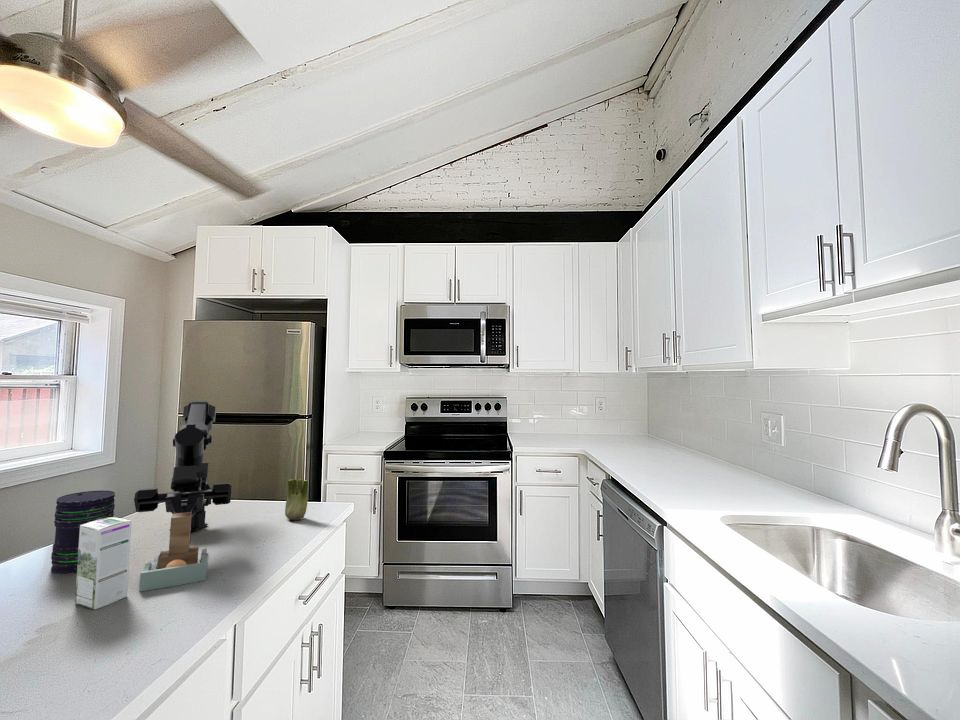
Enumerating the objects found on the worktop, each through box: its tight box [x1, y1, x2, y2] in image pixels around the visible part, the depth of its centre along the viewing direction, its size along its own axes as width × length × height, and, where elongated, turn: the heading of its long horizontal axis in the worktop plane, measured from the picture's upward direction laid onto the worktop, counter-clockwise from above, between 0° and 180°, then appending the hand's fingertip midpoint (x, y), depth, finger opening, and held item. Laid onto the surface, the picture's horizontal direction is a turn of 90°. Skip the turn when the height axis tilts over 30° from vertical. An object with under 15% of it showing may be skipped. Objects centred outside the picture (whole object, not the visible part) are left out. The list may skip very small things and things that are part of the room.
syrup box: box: [74, 516, 132, 611], centre depth 81 cm, size 6×6×14 cm
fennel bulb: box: [284, 478, 309, 521], centre depth 130 cm, size 6×5×12 cm
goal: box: [138, 554, 209, 593], centre depth 90 cm, size 6×11×4 cm, turn 120°
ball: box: [165, 559, 187, 568], centre depth 90 cm, size 4×4×4 cm
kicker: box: [157, 512, 200, 569], centre depth 95 cm, size 4×7×11 cm, turn 120°
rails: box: [151, 548, 208, 570], centre depth 98 cm, size 8×10×1 cm
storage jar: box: [50, 490, 116, 575], centre depth 96 cm, size 10×10×15 cm
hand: (181, 530), depth 97 cm, fingers closed
